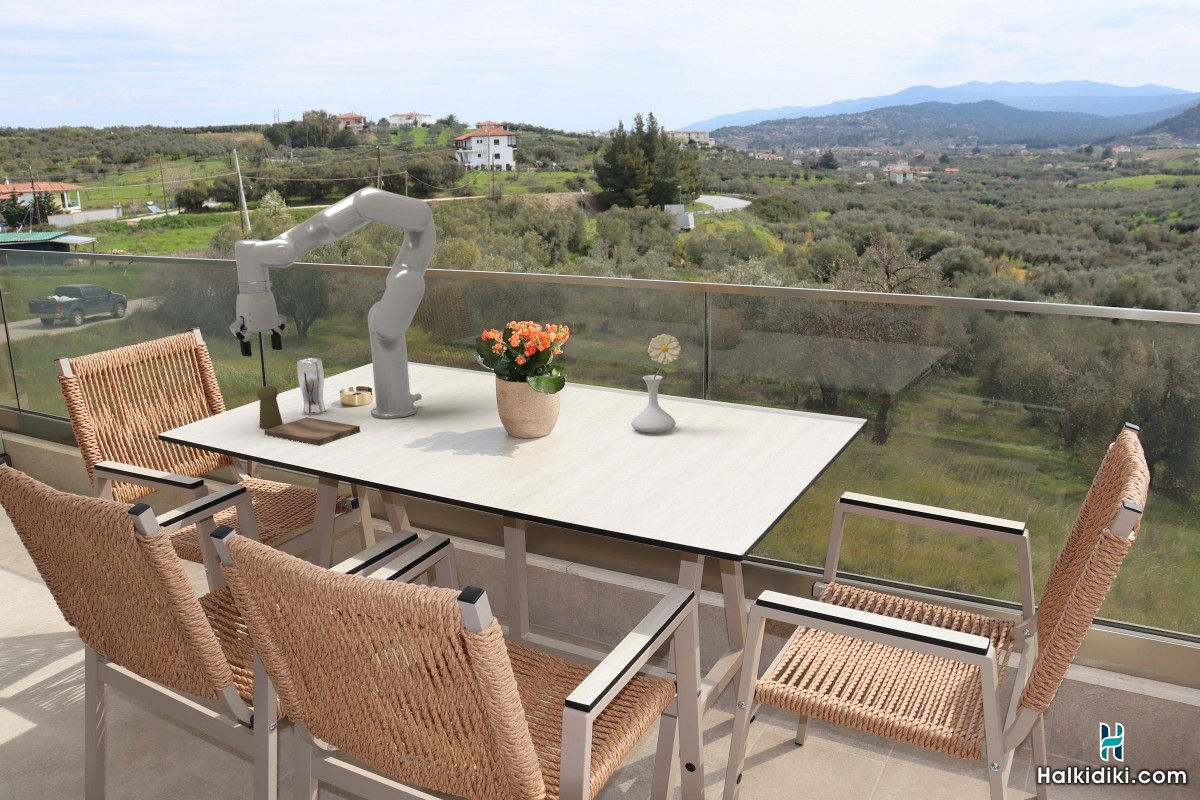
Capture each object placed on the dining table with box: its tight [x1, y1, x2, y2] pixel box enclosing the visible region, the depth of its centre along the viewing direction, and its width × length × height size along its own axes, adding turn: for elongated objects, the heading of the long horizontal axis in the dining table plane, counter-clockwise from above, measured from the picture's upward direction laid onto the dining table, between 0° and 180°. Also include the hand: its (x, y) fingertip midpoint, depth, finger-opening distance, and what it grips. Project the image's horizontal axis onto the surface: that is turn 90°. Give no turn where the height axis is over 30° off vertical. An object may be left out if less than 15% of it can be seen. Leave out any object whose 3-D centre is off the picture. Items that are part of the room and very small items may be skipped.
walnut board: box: [263, 417, 361, 446], centre depth 237 cm, size 14×20×2 cm
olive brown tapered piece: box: [256, 385, 284, 430], centre depth 244 cm, size 6×6×11 cm
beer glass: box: [296, 357, 327, 415], centre depth 258 cm, size 7×7×15 cm
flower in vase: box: [630, 333, 682, 433], centre depth 229 cm, size 13×11×25 cm
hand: (262, 352), depth 241 cm, fingers open, 9 cm apart
